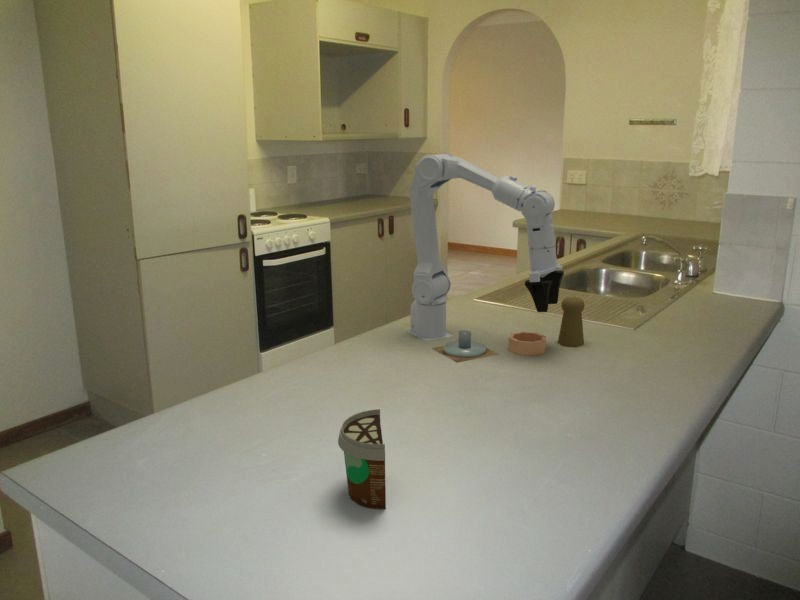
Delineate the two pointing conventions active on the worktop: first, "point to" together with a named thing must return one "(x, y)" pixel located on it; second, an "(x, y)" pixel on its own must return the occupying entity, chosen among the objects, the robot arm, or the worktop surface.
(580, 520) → the worktop surface
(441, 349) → the board
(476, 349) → the lid
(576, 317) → the cork
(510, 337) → the pot
